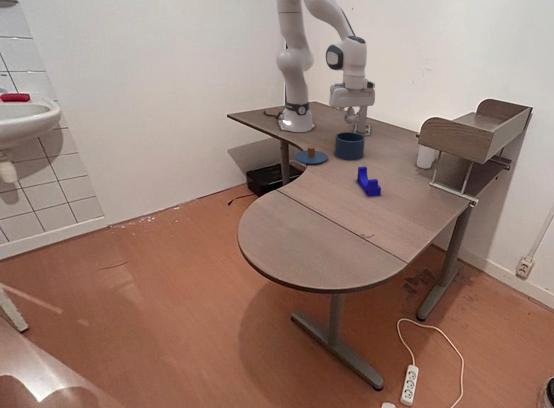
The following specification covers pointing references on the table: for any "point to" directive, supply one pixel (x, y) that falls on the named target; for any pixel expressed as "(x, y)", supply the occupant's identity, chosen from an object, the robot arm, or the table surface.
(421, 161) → the can
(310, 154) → the pail lid
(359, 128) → the network device
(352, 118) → the rubber duck
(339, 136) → the pail
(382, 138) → the table surface
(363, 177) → the blue l-shaped block
